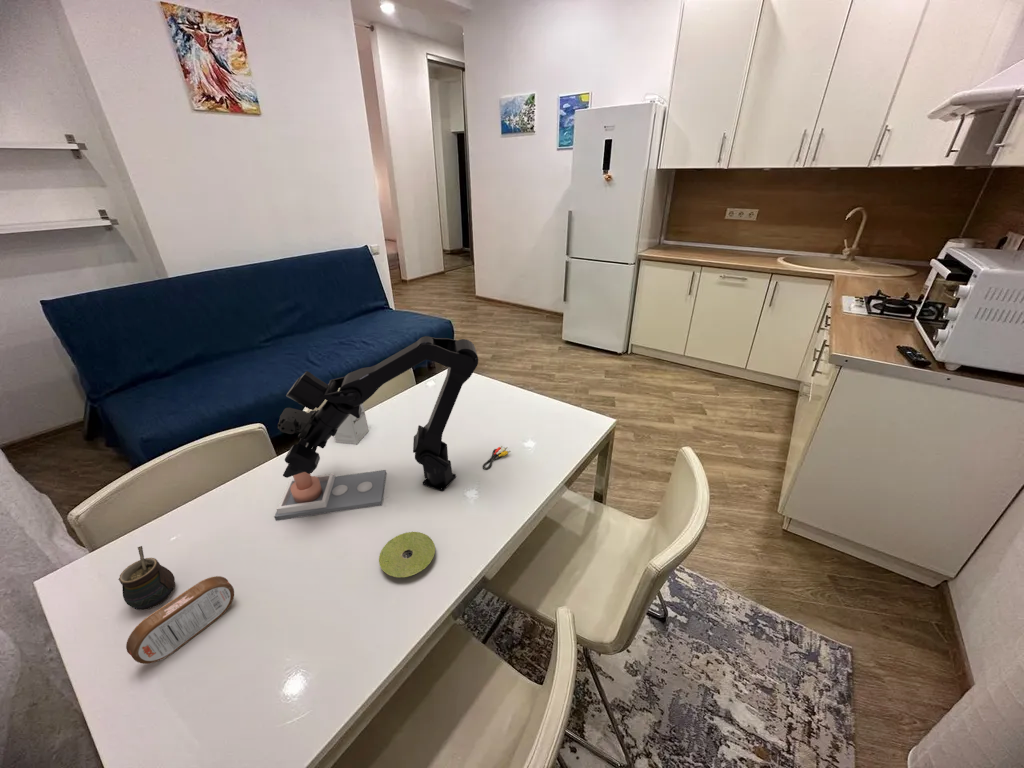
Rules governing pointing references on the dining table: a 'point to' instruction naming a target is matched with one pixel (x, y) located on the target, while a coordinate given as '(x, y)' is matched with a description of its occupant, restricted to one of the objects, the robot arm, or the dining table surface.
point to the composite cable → (495, 456)
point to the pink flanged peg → (305, 488)
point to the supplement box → (352, 429)
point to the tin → (180, 620)
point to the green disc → (407, 554)
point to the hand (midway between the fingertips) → (290, 463)
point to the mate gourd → (146, 583)
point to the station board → (336, 495)
